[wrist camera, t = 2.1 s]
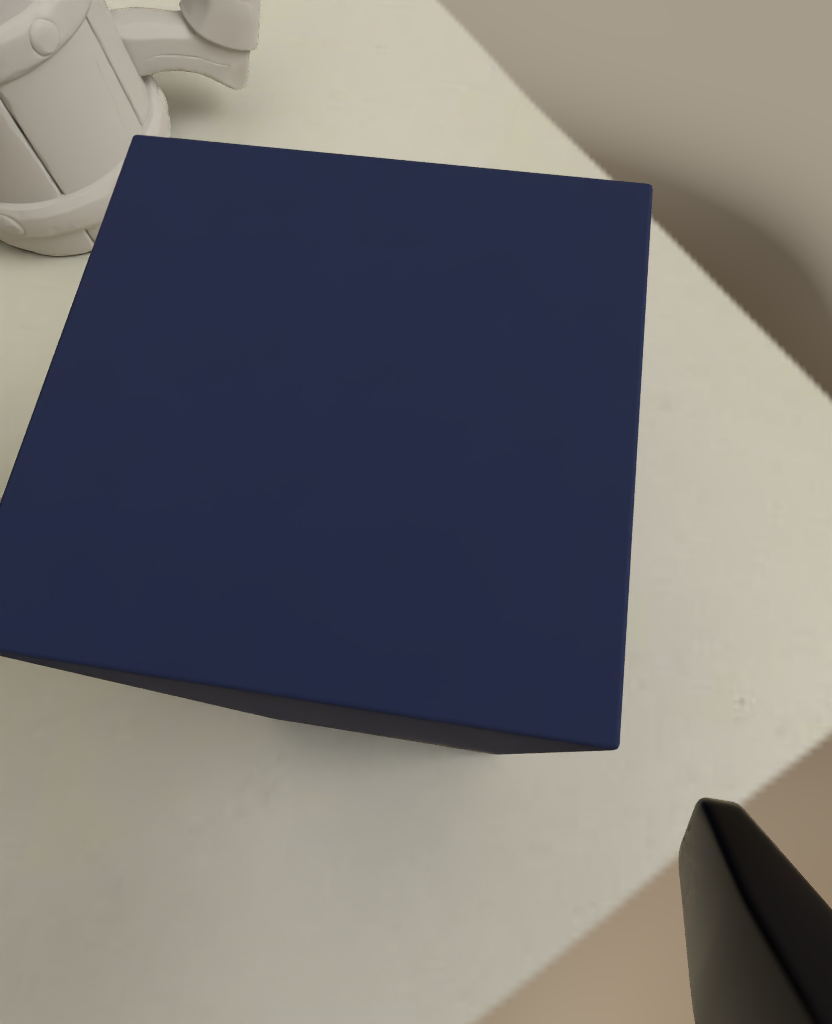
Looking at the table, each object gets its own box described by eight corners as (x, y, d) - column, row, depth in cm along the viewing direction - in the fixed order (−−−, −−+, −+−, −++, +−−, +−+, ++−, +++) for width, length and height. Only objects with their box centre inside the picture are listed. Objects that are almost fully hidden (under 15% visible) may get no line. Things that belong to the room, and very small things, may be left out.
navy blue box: (498, 754, 18) (620, 751, 6) (270, 718, 19) (-54, 644, 6) (546, 322, 22) (677, -210, 10) (358, 301, 23) (264, -232, 11)
